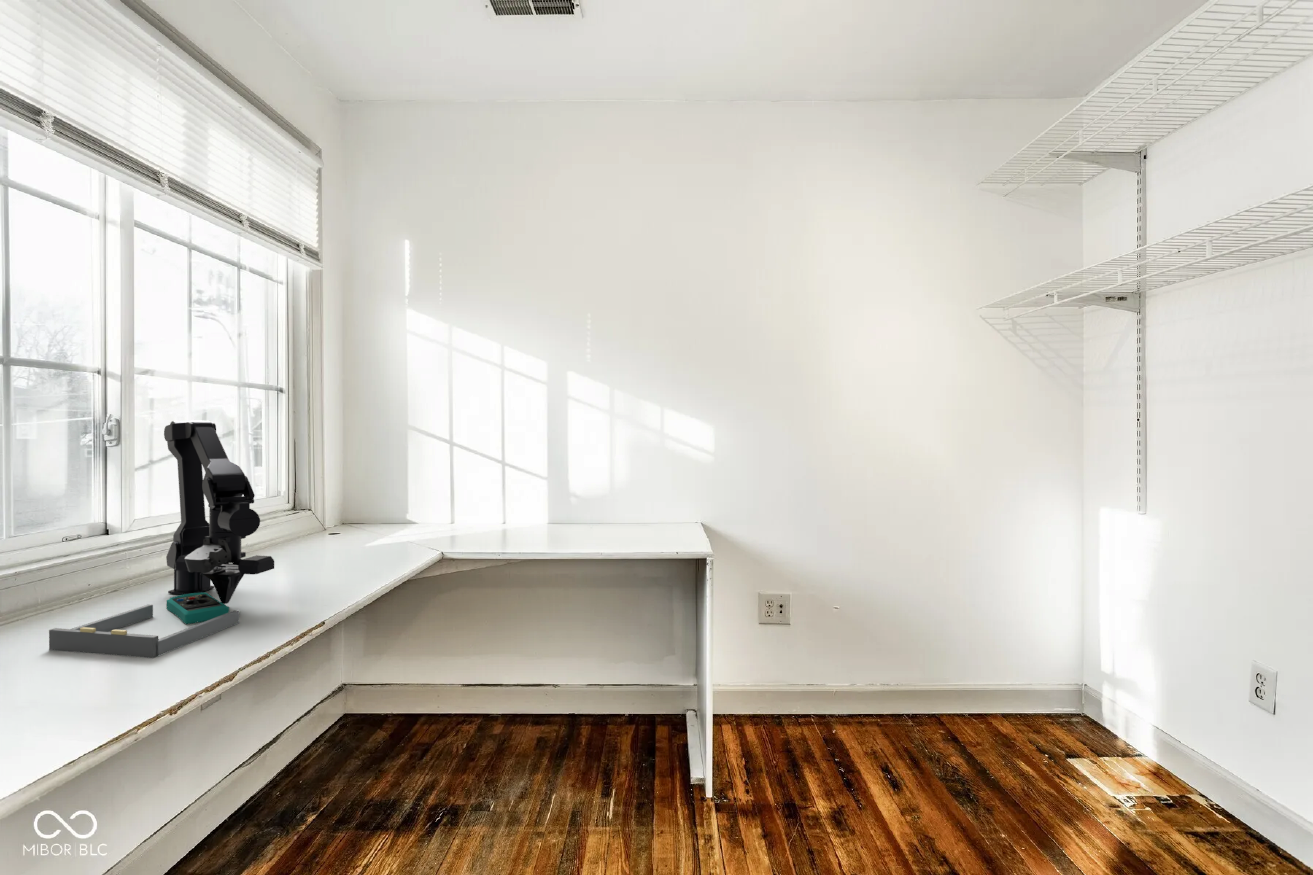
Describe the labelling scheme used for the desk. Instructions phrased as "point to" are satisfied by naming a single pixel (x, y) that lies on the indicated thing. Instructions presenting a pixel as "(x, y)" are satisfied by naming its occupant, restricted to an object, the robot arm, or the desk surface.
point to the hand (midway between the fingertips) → (225, 603)
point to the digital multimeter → (196, 607)
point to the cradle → (132, 635)
